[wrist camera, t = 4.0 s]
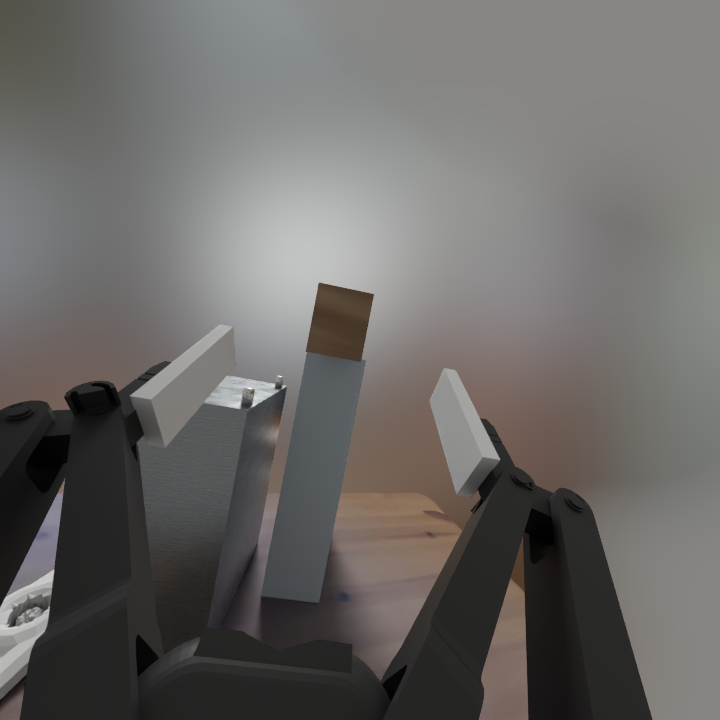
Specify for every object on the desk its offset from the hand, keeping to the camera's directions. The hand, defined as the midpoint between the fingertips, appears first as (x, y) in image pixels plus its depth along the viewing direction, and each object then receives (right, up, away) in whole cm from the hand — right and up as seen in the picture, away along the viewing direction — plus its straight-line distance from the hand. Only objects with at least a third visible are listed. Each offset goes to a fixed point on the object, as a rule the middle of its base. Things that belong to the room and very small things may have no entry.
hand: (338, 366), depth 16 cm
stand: (-8, -28, +22) cm, 36 cm away
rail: (-2, +1, +16) cm, 16 cm away
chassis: (-18, -26, +14) cm, 35 cm away
